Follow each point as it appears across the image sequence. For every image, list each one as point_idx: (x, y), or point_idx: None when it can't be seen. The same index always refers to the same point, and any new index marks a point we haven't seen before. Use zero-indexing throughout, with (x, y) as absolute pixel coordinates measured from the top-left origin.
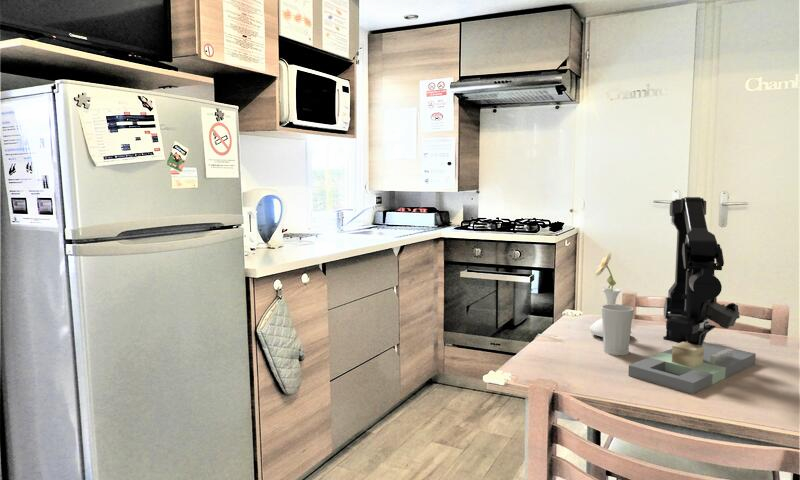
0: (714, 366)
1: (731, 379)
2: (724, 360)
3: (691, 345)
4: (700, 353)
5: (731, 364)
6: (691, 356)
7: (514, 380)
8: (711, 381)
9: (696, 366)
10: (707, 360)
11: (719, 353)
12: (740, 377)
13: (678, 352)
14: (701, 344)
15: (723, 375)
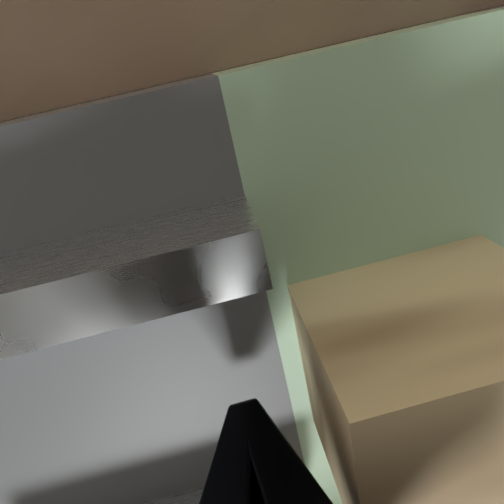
0: (294, 165)
1: (182, 17)
2: (21, 249)
3: (439, 483)
4: (407, 336)
5: (41, 125)
6: None
7: None
8: (500, 7)
9: (436, 238)
10: (187, 317)
11: (79, 308)
12: (38, 8)
13: None
14: (228, 501)
15: (252, 64)
